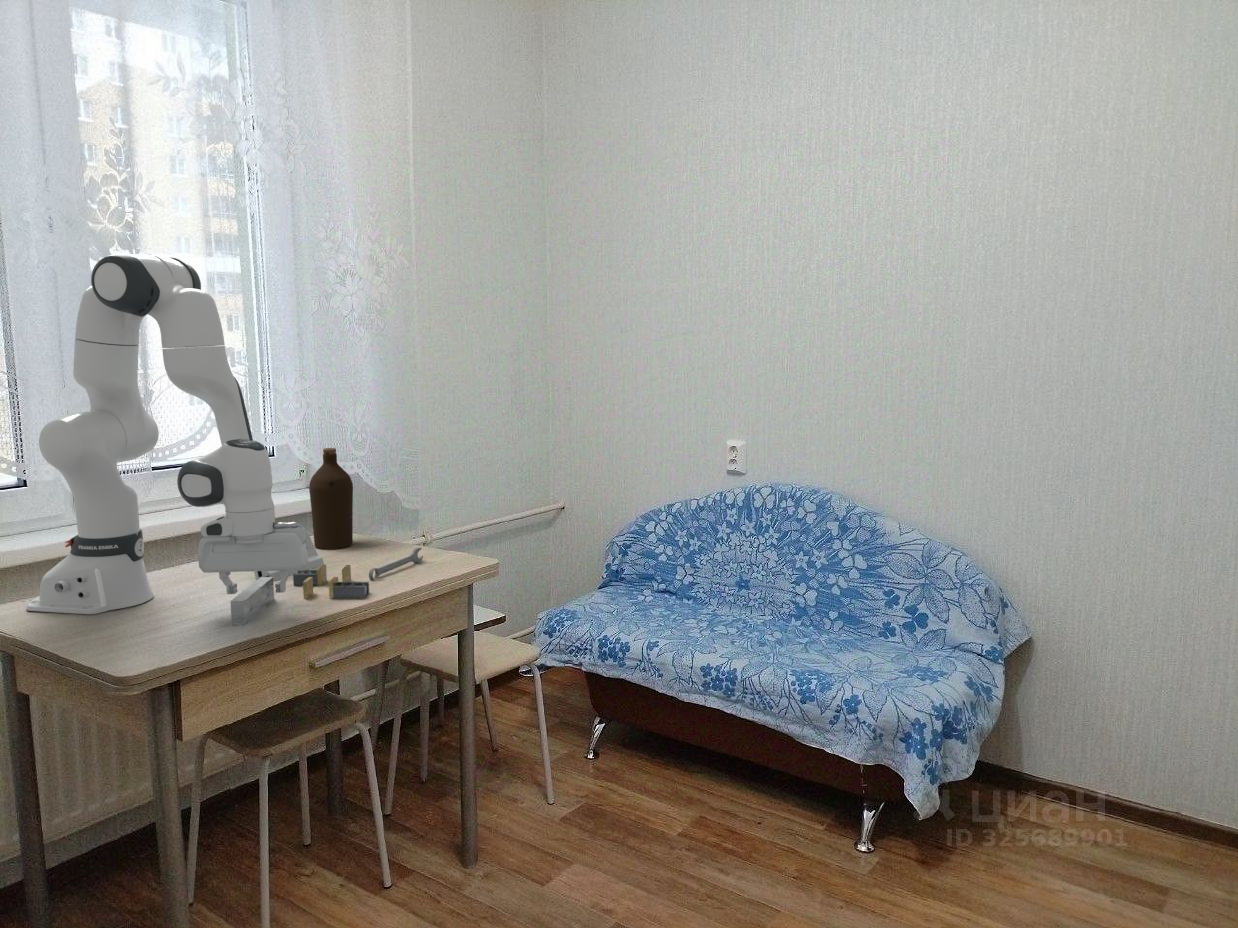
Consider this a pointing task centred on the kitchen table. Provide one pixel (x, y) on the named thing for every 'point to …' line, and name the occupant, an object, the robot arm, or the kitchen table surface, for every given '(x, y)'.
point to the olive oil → (331, 504)
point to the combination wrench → (395, 564)
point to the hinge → (313, 562)
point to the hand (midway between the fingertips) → (256, 592)
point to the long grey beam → (252, 601)
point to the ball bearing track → (331, 583)
